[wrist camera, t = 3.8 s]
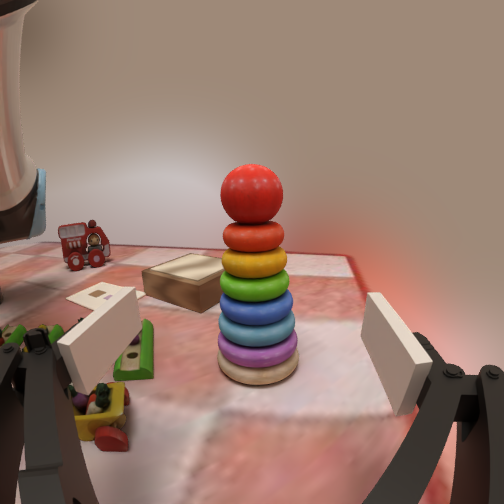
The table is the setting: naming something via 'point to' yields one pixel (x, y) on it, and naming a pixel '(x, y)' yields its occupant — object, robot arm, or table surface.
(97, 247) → the toy fire truck
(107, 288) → the page
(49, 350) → the robot arm
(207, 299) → the pedestal
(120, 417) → the toy garden set
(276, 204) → the stacking toy
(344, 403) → the table surface
